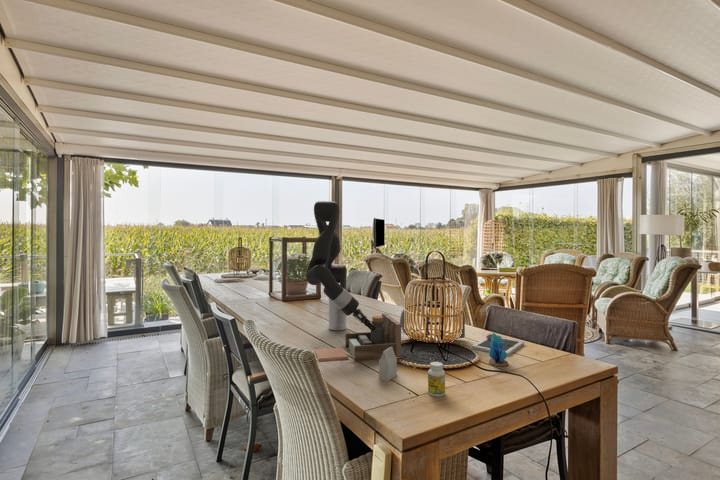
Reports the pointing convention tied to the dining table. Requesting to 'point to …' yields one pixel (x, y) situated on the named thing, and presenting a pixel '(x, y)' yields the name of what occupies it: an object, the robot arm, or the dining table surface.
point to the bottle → (377, 330)
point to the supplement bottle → (436, 379)
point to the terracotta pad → (331, 354)
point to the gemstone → (497, 352)
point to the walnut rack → (375, 351)
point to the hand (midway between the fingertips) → (371, 327)
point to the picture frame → (508, 346)
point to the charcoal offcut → (364, 340)
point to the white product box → (388, 365)
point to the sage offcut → (353, 343)
